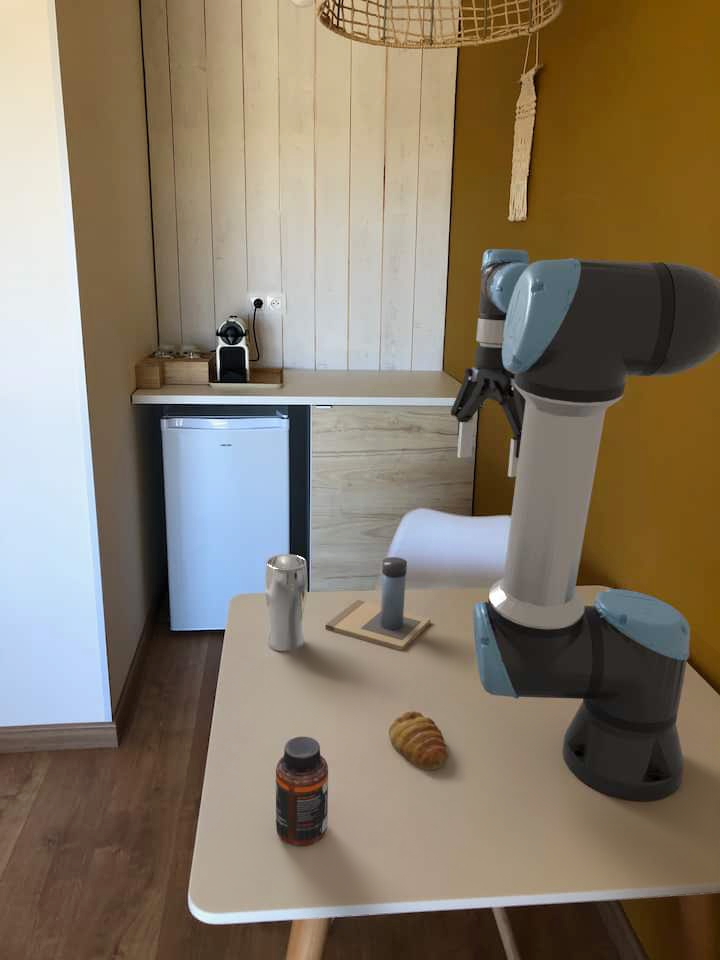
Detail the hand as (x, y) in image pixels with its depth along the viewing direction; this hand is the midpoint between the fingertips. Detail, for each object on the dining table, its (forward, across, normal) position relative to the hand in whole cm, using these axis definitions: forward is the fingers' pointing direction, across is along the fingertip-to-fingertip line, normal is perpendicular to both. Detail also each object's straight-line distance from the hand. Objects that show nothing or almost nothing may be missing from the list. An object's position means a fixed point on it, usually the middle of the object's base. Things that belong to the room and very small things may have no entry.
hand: (488, 466), depth 137 cm
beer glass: (+29, +7, +36) cm, 47 cm away
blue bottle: (+28, +2, +18) cm, 33 cm away
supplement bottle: (+29, -34, +54) cm, 70 cm away
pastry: (+29, -28, +33) cm, 52 cm away
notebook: (+29, +5, +19) cm, 35 cm away
